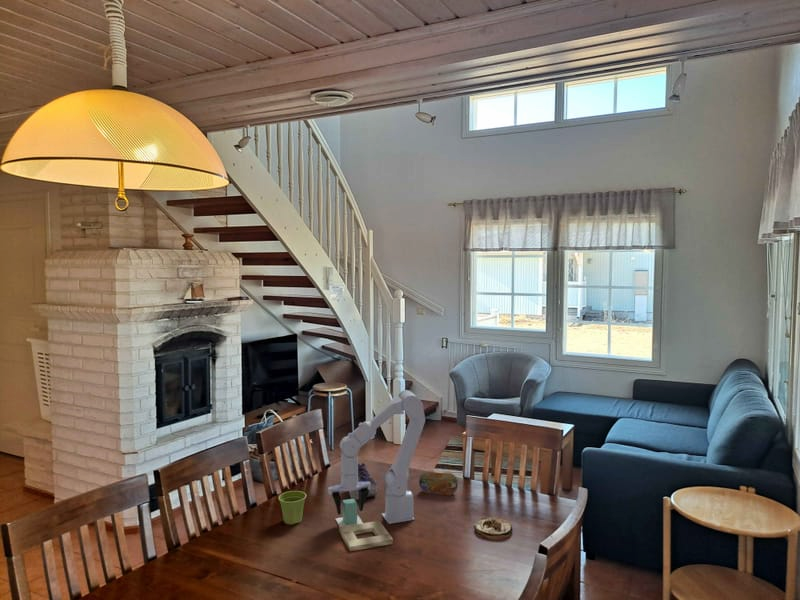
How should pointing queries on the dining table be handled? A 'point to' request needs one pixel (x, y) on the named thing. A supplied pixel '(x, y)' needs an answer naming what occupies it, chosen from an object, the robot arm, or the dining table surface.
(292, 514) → the plant pot
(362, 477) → the geode
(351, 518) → the teal block
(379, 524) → the board
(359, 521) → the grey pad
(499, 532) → the beige round shallow dish
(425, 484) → the tin
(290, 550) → the dining table surface
